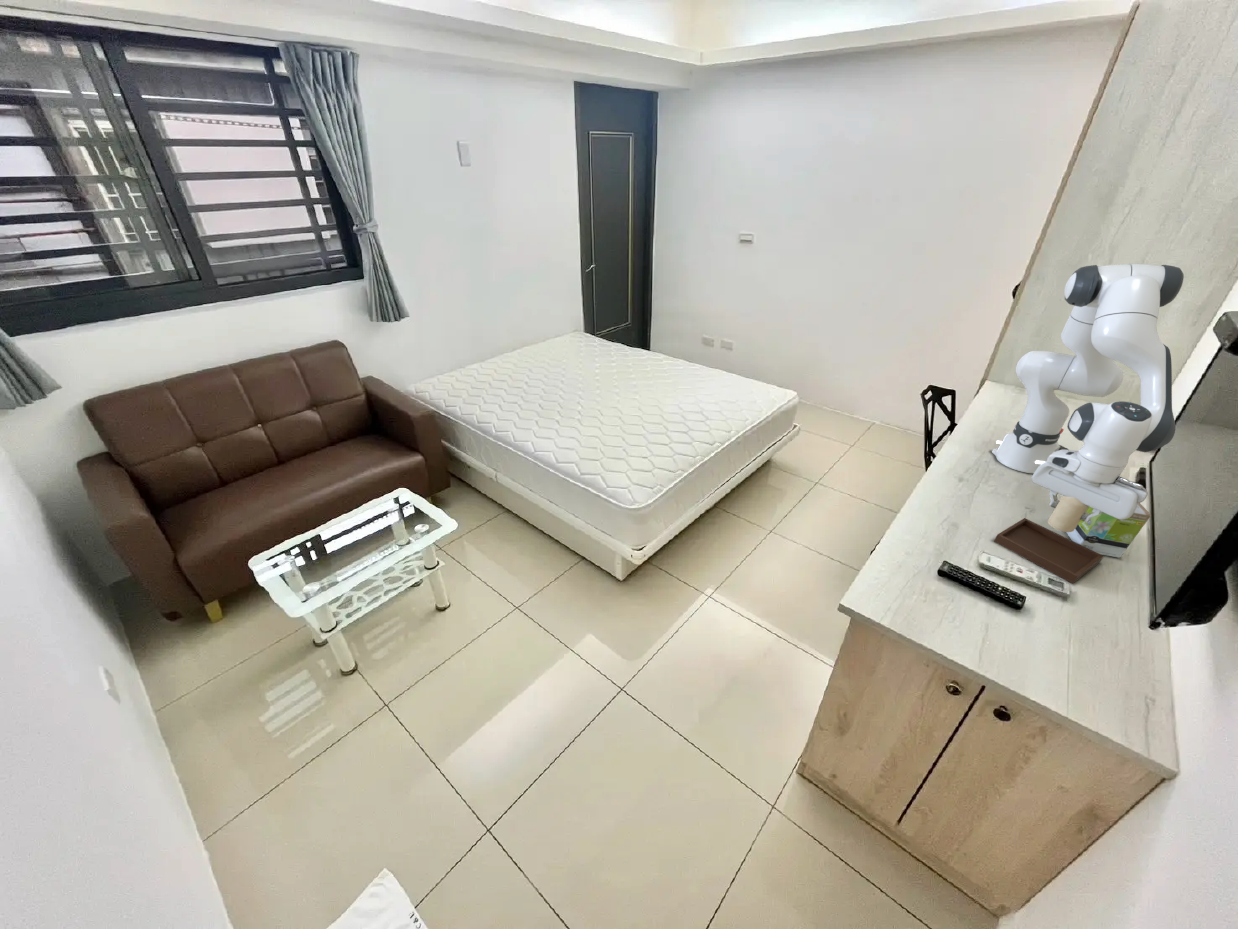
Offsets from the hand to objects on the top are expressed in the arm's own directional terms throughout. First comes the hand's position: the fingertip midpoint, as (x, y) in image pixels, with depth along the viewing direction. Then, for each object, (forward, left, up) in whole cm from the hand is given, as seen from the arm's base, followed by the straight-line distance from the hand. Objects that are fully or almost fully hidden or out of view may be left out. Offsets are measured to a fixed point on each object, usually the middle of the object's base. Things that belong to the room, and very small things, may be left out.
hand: (1068, 513), depth 124 cm
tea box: (-17, +3, -14) cm, 22 cm away
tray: (0, 0, -13) cm, 13 cm away
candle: (0, 0, -4) cm, 4 cm away
